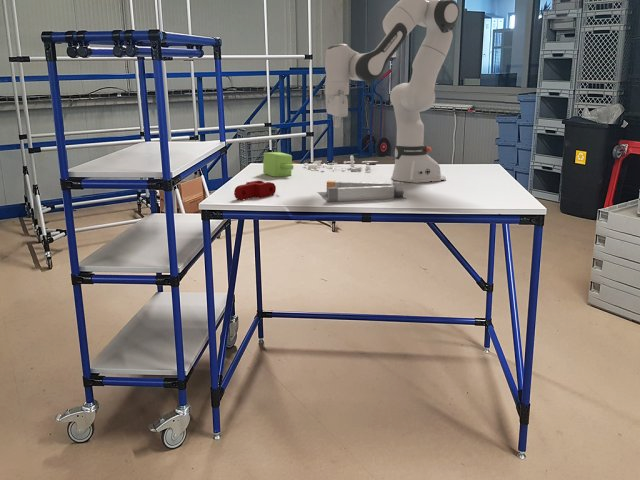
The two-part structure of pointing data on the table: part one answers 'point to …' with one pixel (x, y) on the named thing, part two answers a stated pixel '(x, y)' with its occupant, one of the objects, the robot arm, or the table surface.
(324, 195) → the mat
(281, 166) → the gearbox
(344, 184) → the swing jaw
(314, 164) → the miniature set
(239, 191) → the mechanical linkage
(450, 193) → the table surface
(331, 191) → the block
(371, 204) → the table surface
